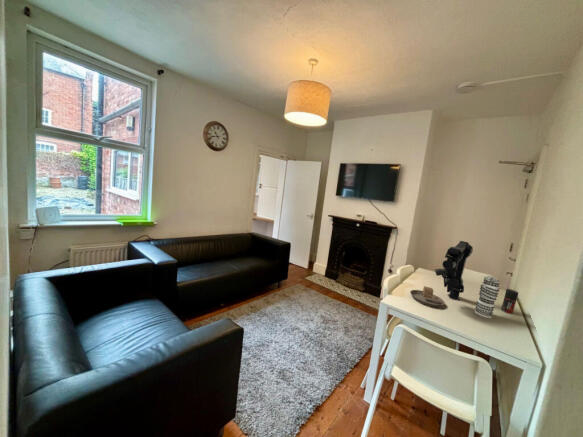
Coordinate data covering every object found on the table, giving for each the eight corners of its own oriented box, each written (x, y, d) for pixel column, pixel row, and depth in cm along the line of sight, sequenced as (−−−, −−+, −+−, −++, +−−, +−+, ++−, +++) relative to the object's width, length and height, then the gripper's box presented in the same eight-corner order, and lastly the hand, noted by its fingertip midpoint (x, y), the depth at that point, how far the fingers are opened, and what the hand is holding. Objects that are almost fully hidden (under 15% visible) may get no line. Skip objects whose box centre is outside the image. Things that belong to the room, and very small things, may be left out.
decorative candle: (496, 318, 144) (506, 281, 140) (484, 318, 142) (494, 280, 139) (482, 310, 153) (491, 275, 149) (470, 310, 151) (479, 274, 148)
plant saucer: (433, 296, 167) (434, 292, 166) (450, 311, 146) (451, 306, 146) (404, 291, 168) (405, 287, 168) (417, 306, 148) (418, 301, 148)
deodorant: (509, 310, 158) (515, 290, 156) (514, 314, 153) (520, 293, 151) (499, 308, 160) (504, 288, 158) (503, 312, 155) (509, 291, 152)
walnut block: (422, 294, 160) (424, 286, 159) (430, 296, 158) (432, 288, 158) (423, 296, 156) (425, 288, 155) (431, 299, 154) (433, 290, 153)
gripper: (434, 260, 160) (430, 281, 162) (439, 267, 143) (434, 291, 145) (453, 264, 156) (448, 285, 158) (461, 272, 139) (455, 296, 141)
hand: (446, 289), depth 151 cm, fingers open, 9 cm apart
